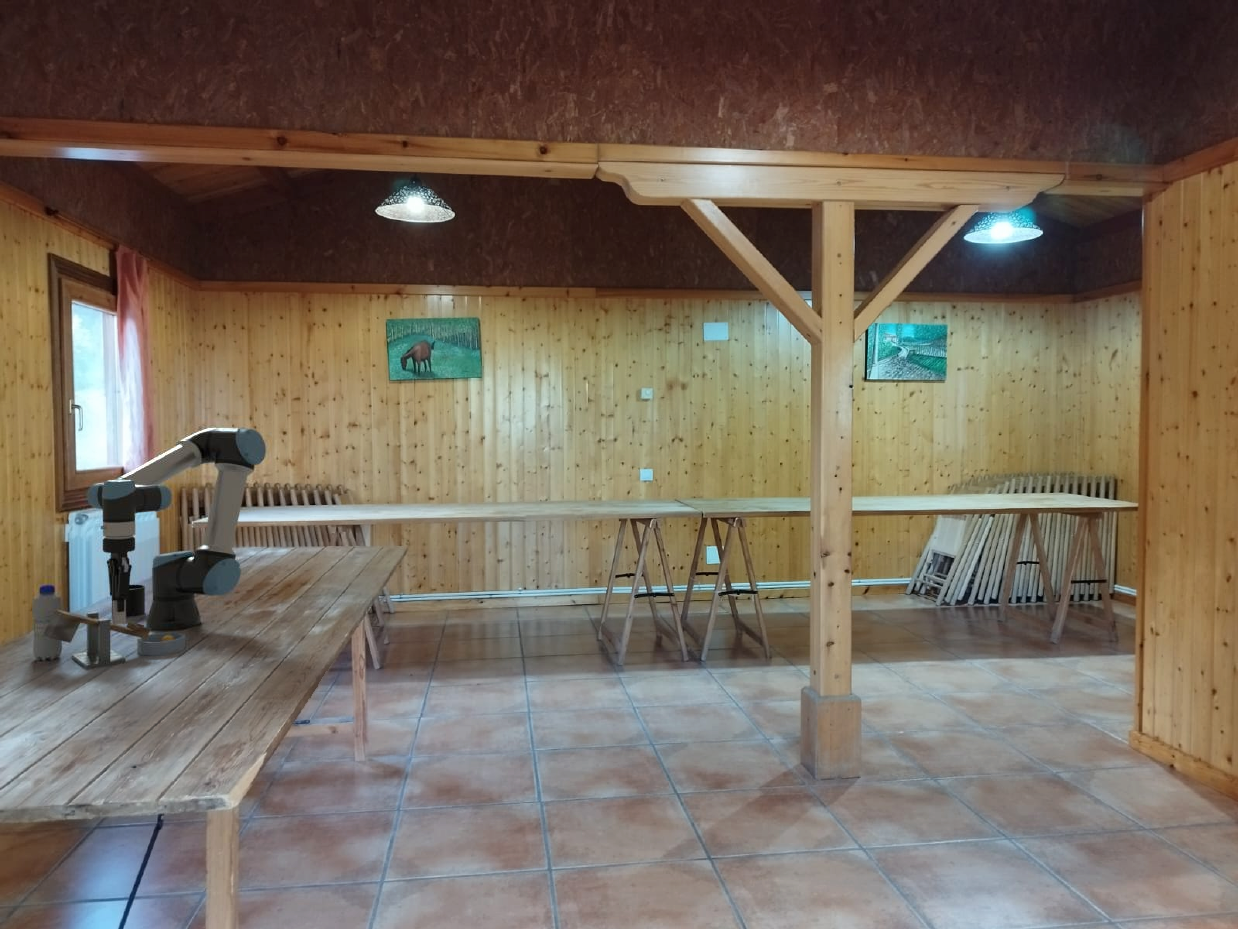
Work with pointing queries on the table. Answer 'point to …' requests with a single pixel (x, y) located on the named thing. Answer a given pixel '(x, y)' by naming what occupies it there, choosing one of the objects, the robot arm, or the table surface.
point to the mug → (135, 601)
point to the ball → (167, 638)
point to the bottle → (45, 623)
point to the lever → (68, 623)
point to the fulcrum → (98, 646)
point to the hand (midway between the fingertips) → (119, 623)
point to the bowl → (161, 644)
